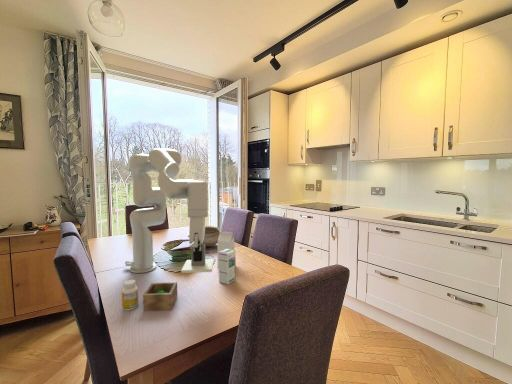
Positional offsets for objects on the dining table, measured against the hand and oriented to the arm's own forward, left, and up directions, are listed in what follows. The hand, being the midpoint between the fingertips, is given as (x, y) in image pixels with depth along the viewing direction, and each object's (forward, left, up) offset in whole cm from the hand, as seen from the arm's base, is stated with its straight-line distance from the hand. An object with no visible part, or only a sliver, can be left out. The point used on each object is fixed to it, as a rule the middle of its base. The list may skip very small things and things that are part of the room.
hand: (198, 258), depth 96 cm
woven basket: (-4, +72, -17) cm, 74 cm away
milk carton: (+10, +35, -17) cm, 40 cm away
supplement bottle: (-25, -3, -17) cm, 30 cm away
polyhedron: (-14, -1, -17) cm, 22 cm away
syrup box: (+11, +17, -17) cm, 27 cm away
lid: (0, 0, -3) cm, 3 cm away
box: (-14, -1, -17) cm, 22 cm away
